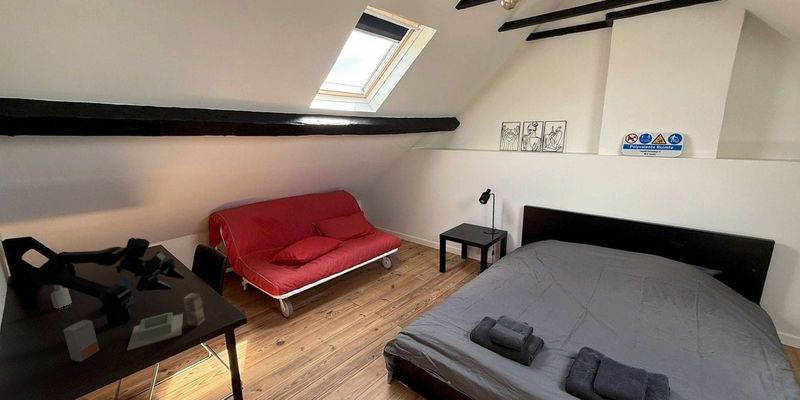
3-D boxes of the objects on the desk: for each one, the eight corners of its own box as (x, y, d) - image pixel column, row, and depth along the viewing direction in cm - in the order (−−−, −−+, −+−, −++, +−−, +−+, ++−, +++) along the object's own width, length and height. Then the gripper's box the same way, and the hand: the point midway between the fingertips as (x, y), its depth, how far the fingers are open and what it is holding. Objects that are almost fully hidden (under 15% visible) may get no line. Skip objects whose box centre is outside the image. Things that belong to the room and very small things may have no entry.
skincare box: (80, 362, 109) (72, 330, 107) (71, 360, 110) (62, 329, 108) (100, 350, 115) (92, 320, 113) (91, 348, 116) (82, 319, 113)
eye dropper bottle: (73, 305, 146) (66, 281, 143) (55, 311, 142) (48, 286, 139) (71, 302, 149) (64, 278, 146) (53, 307, 144) (46, 283, 142)
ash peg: (188, 325, 129) (183, 298, 126) (195, 319, 132) (190, 293, 130) (198, 325, 128) (193, 298, 126) (204, 319, 132) (200, 293, 130)
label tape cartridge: (119, 301, 149) (113, 276, 146) (130, 297, 152) (124, 273, 149) (123, 307, 143) (117, 282, 140) (135, 303, 146) (129, 278, 143)
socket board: (127, 350, 115) (125, 340, 114) (134, 327, 128) (132, 318, 127) (181, 334, 123) (179, 325, 122) (182, 314, 136) (181, 306, 135)
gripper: (130, 258, 118) (173, 276, 122) (160, 241, 137) (197, 257, 140) (118, 283, 120) (161, 300, 123) (150, 263, 138) (186, 278, 141)
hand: (177, 282), depth 132 cm, fingers open, 9 cm apart
